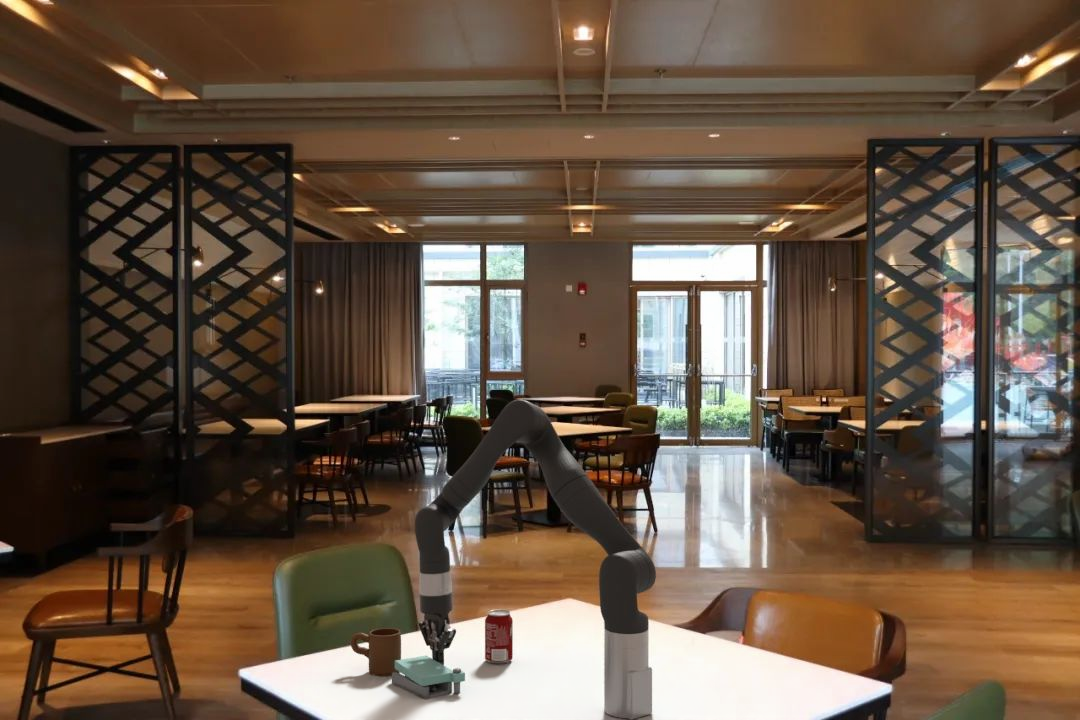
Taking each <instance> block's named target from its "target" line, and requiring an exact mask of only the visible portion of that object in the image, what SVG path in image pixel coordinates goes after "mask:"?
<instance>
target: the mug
mask: <svg viewBox="0 0 1080 720" xmlns="http://www.w3.org/2000/svg"><path fill="white" fill-rule="evenodd" d="M368 633H369V634H367V633H365V632H357V633H354V634H353V635H352V636H351V639H350V642H349V643H350V646H351V649H352V651H354V653H356V654H358V655H361V656H362V655H363V656H364V657H366V658H367V659H368V671H369V674H371V675H373V676H377V677H387V676H388V677H389V676H392V673H393V672H397V673H400V672H399V671H398V670H396V669H395V661H396V660H402V633H401V630H400V629H397V628H393V627H392V628H389V627H383V628H375V629H372V630H371V631H369V632H368ZM358 640H361V641H363V642H366V643H368V647H364V646H361V645H359V644H358Z"/></svg>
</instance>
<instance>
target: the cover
mask: <svg viewBox="0 0 1080 720" xmlns="http://www.w3.org/2000/svg"><path fill="white" fill-rule="evenodd" d="M395 669H396V670H398V671H399V672H398V673H400V674H401V675H404V676H407V677H408V678H410V679H411V680H413V681H415V682H416V683H418V684H419V685H421V686H427V685H432V684H438V683H443V682H449V681H452V684H454V683H457V682H460V683H462V682H466V673H465V672H464V671H462V669H461V668H460V667H459V668H457V667H455V668H453V669H451V668H449V667H447V666H445V664H444V665H442V664H440V663H439V662H437V661H435V660H433V659H432V657H430V656H428V655H421V656H415V657H409V658H403V659H402V658H401V660H396V661H395Z"/></svg>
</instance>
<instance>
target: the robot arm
mask: <svg viewBox="0 0 1080 720" xmlns="http://www.w3.org/2000/svg"><path fill="white" fill-rule="evenodd" d="M517 442H518V443H519V442H520V443H521V444H522V445H523V446H524V447H525V448H526V449H527V450H528V451H529V452H530V454H531V455H532V457H533V458H534V459H535V460H536V462H537V463H538V464H539V467H540V468H541V470H542V474H543V477H544V481H545V484H546V487H547V489H548V492H549V493H550V494H549V495H550V496H551V497H552V499H553V501H554V503H555V504H556V505H557V507H558V508H559V509H560V511H561V512H562V514H563V516H564V517H566V519H567V520H568V521H569V522H570V523H572V524H573V525H574V526H575V527H576V528H578V529H579V530H581V532H584V533H585V534H586V535H588V536H589V537H590V538H592V539H593V540H594V541H595V542H597V543H598V544H599V545H600V547H601V548H602V549H603V550H604V551H605V553H606V554H607V556H606V557H605V558H604V559H603V560H602V562H601V563H600V568H599V573H598V584H599V585H598V586H599V587H598V588H599V589H598V590H599V604H600V605H599V607H600V608H599V609H600V613H601V616H602V619H603V626H604V628H603V630H604V633H603V634H604V635H603V637H604V639H603V640H604V643H603V644H604V645H603V646H604V648H603V650H604V651H603V653H604V654H603V655H604V658H603V659H604V664H603V665H604V670H603V671H604V675H603V677H604V678H603V679H604V681H603V683H604V688H603V690H604V693H603V695H604V707H603V708H604V709H603V710H604V713H605V714H607V715H609V716H612V717H614V718H621V719H628V720H636V719H639V718H642V717H645V716H648V715H651V714H652V715H653V669H652V667H651V666H649V643H650V642H649V637H650V636H649V629H650V628H649V616H648V614H646V613H645V612H643V611H641V610H639V607H638V594H641V593H644V592H647V591H648V590H650V589H651V588H653V586H654V585H655V582H656V578H657V573H656V572H657V571H656V566H655V565H654V564H655V563H654V561H653V560H652V558H651V557H650V555H649V553H648V552H647V551H646V550H645V548H643V546H642V545H641V544H640V543H639V542H638V541H637V540H636V538H635V537H634V536H633V535H632V534H631V533H630V532H629V531H628V529H627V528H626V527H625V526H624V525H623V523H622V522H621V520H620V519H619V518H618V517H617V515H616V514H615V512H614V511H613V509H612V508H611V507H610V506H609V504H608V502H607V501H606V500H605V499H604V497H603V496H602V494H601V492H600V491H599V489H598V488H597V487H596V485H595V483H593V481H592V480H591V478H590V477H589V476H588V474H587V472H586V471H585V470H584V469H583V468H582V466H581V465H580V463H579V462H578V461H577V460H576V458H575V457H574V456H573V455H572V454H571V452H570V451H569V450H568V449H567V447H565V444H564V443H563V442H562V440H561V438H560V436H559V435H558V433H557V431H556V429H555V427H554V426H553V423H552V421H551V419H550V418H549V416H548V415H547V413H546V412H545V410H543V409H542V408H541V407H540V406H538V405H537V404H533V402H530V401H528V400H525V399H515V400H512V401H510V402H508V403H507V404H506V405H505V406H504V408H503V409H502V410H501V412H500V413H499V414H498V415H497V417H496V419H495V421H494V422H493V424H492V425H491V427H490V428H489V429H488V431H487V432H486V434H485V435H484V437H483V438H482V440H481V441H480V442H479V443H478V445H477V446H476V448H475V449H474V451H473V453H472V454H471V455H470V456H469V457H468V459H467V460H466V461H465V462H464V463H463V465H461V467H459V469H458V470H457V471H456V472H455V473H454V474H453V475H452V476H451V477H450V479H448V481H447V482H446V483H445V484H444V485H443V488H442V489H441V492H440V493H439V494H438V496H437V497H436V498H434V500H433V501H432V502H431V503H430V504H428V505H427V506H424V507H422V508H420V509H419V510H418V512H417V513H416V515H415V517H414V518H415V519H414V534H415V540H416V544H417V549H418V552H419V558H418V559H419V581H418V586H419V587H418V589H419V590H418V591H419V593H418V594H419V611H420V613H422V614H424V616H423V621H420V622H418V627H419V630H420V633H421V635H422V639H423V641H424V642H425V645H426V646H427V647H428V646H429V649H430V651H431V658H432V659H433V660H435V661H437V662H439V663H440V664H442V665H444V666H445V650H447V649H450V647H451V645H452V643H453V640H454V638H455V636H456V633H457V629H456V628H452V627H451V626H450V622H451V621H450V618H449V613H450V612H451V611H452V610H453V608H454V607H453V584H452V582H453V581H452V574H451V559H450V551H449V548H448V546H446V543H445V542H446V541H445V531H447V530H448V528H450V526H452V524H453V523H454V522H455V520H456V519H457V518H458V517H459V515H460V514H461V513H462V511H463V510H464V508H466V507H467V506H468V505H469V504H470V503H471V502H472V501H473V500H474V498H476V496H477V495H478V494H479V493H480V492H481V491H482V489H484V487H485V486H486V484H487V483H488V482H489V480H490V478H491V476H492V473H493V471H494V468H495V467H496V465H497V463H498V461H499V460H500V459H501V457H502V456H503V454H504V453H506V451H507V450H508V449H509V448H511V446H513V445H514V444H515V443H517Z"/></svg>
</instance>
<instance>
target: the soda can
mask: <svg viewBox="0 0 1080 720" xmlns="http://www.w3.org/2000/svg"><path fill="white" fill-rule="evenodd" d="M513 622H514V621H513V617H512V616H511V612H510V611H509V610H507V609H492V610H489V611H487V615H486V617H485V619H484V659H485V661H486V662H488V663H490V664H493V665H504V664H507V663H509V662H510V661H512V660H513V657H514V656H513V647H514V646H513V640H514V639H513V638H514V637H513V624H514V623H513Z"/></svg>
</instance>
